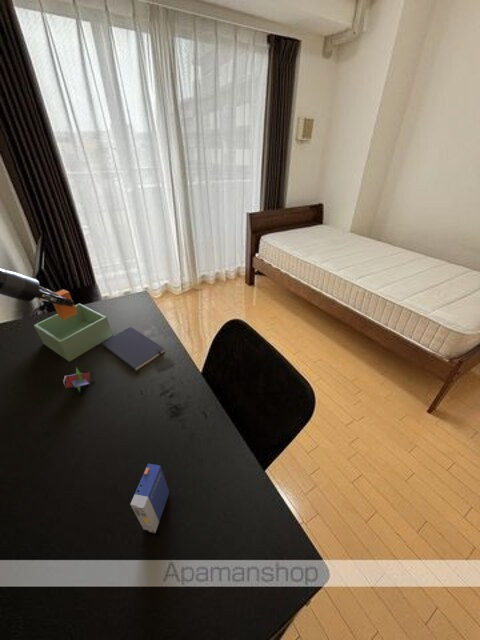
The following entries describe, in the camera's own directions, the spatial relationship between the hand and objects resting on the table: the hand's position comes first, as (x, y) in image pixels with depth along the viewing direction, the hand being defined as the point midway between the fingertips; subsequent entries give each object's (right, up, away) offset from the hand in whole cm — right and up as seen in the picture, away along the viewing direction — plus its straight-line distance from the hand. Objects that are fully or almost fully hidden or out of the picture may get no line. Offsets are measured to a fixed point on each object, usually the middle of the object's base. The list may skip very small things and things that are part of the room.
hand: (69, 302), depth 101 cm
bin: (-1, -14, +8) cm, 16 cm away
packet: (-1, -5, +1) cm, 5 cm away
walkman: (+43, -47, -40) cm, 76 cm away
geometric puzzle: (+11, -28, -11) cm, 32 cm away
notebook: (+22, -17, +3) cm, 28 cm away
